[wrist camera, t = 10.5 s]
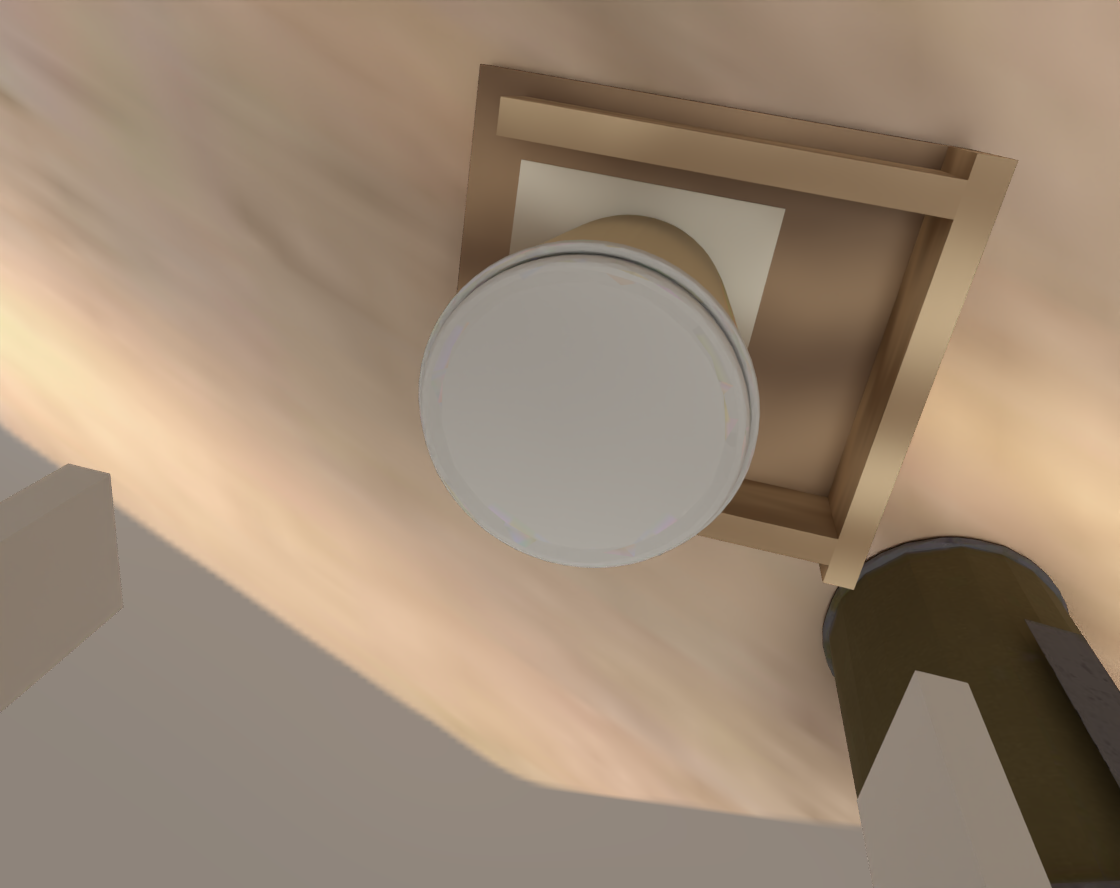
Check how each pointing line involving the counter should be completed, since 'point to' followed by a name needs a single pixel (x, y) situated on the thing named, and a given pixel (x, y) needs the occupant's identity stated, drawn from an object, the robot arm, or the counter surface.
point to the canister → (990, 686)
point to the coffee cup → (592, 395)
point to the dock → (764, 270)
